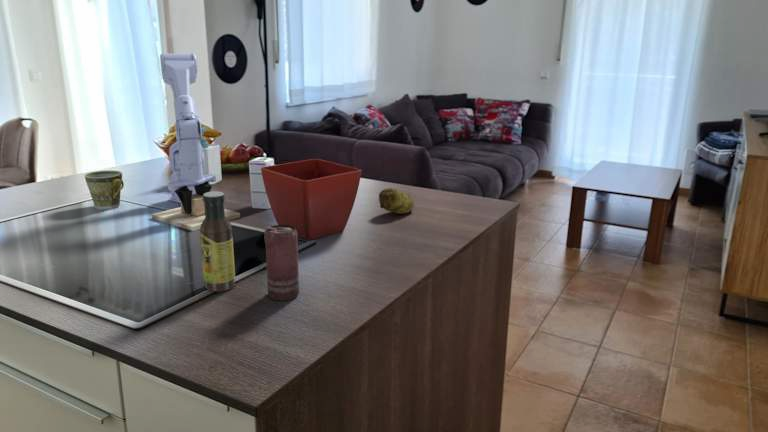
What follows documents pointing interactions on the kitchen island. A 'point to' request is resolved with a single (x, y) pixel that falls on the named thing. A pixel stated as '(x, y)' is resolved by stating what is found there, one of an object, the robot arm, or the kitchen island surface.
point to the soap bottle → (211, 158)
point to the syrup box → (259, 182)
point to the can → (282, 262)
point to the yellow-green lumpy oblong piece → (395, 201)
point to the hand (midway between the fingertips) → (195, 210)
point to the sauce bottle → (216, 245)
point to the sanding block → (195, 206)
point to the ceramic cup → (105, 188)
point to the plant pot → (311, 195)
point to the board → (187, 218)
